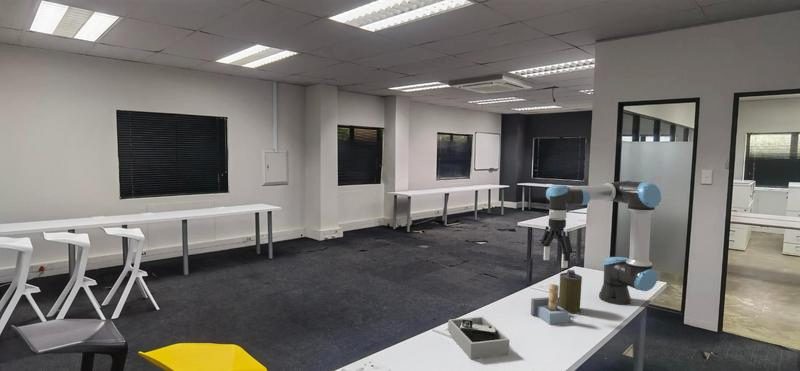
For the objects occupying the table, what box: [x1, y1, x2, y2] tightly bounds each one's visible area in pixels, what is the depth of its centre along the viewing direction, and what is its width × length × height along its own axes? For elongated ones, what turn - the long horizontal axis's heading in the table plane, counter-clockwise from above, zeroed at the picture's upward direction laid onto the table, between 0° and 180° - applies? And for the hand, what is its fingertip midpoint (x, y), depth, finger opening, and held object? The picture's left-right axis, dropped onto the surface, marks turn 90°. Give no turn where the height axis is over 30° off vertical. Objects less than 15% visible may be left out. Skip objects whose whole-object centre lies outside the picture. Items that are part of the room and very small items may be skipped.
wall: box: [530, 296, 559, 317], centre depth 200 cm, size 14×2×8 cm, turn 105°
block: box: [536, 305, 570, 325], centre depth 194 cm, size 10×10×5 cm
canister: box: [558, 269, 583, 315], centre depth 207 cm, size 11×10×20 cm
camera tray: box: [447, 316, 510, 360], centre depth 168 cm, size 16×23×6 cm
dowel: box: [548, 283, 560, 311], centre depth 194 cm, size 4×4×15 cm
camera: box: [460, 317, 497, 342], centre depth 168 cm, size 15×8×10 cm, turn 71°
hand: (555, 263), depth 192 cm, fingers open, 13 cm apart
